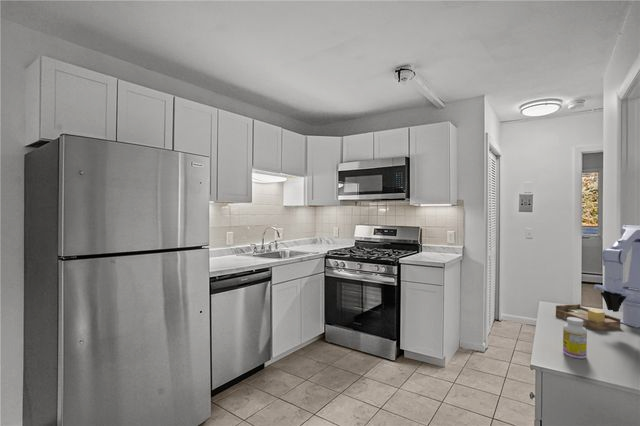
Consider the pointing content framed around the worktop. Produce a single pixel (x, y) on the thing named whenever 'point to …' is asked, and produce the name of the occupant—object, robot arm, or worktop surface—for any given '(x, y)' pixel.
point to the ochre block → (596, 315)
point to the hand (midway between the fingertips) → (613, 310)
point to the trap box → (586, 317)
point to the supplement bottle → (575, 338)
